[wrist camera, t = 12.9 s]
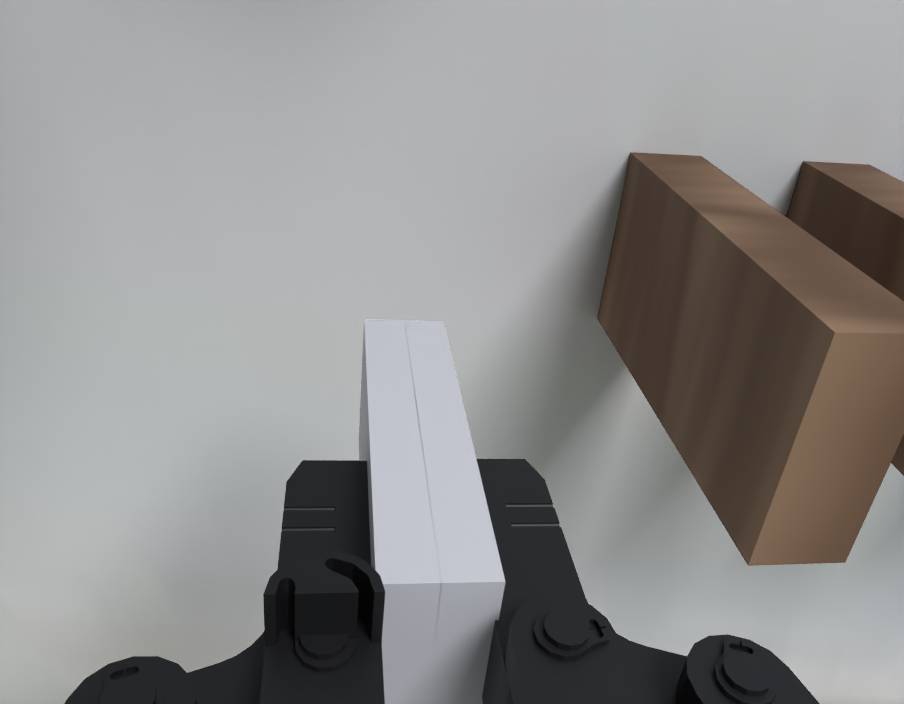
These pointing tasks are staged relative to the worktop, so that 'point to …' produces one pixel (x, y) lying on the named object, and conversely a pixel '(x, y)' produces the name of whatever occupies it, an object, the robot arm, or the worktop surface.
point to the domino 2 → (856, 223)
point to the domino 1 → (756, 357)
